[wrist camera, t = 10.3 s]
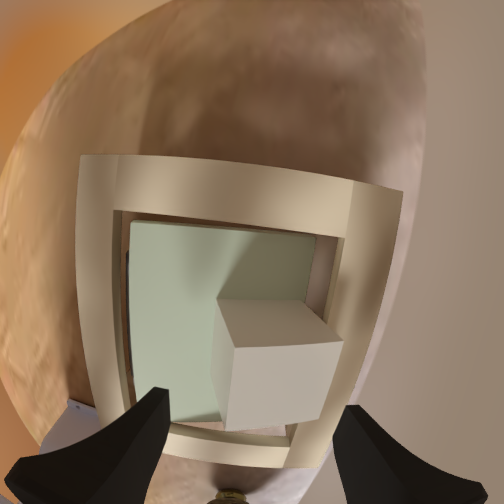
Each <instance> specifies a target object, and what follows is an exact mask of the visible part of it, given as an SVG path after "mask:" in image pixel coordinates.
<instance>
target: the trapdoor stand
mask: <svg viewBox="0 0 504 504" xmlns="http://www.w3.org/2000/svg"><path fill="white" fill-rule="evenodd" d="M402 198H403V191H399V190H395V189H390V188H386V187H382V186H377V185H373V184H368V183H363V182H359V181H354V180H349V179H344V178H339V177H333V176H328V175H322V174H317V173H311V172H305V171H299V170H292V169H286V168H279V167H272V166H264V165H256V164H248V163H240V162H231V161H221V160H210V159H199V158H186V157H171V156H151V155H118V154H81V157H80V166H79V175H78V186H77V200H76V223H75V261H76V284H77V298H78V309H79V318H80V327H81V335H82V342H83V348H84V354H85V360H86V366H87V371H88V376H89V381H90V386H91V390H92V395H93V399H94V403H95V407H96V411H97V415H98V418H99V422H100V425H101V429H103V428H105V427H106V426H108V425H109V424H110V423H112V422H113V421H115V420H116V419H117V418H119V417H120V416H121V415H123V414H124V413H125V412H126V411H127V410H129V409H130V408H131V407H132V406H133V405H135V404H136V403H137V399H136V391H135V385H134V382H133V376H131V371H130V369H129V371H128V372H127V374H126V367H125V358H124V347H123V334H122V317H121V285H120V261H121V228H122V211H133V212H143V213H153V214H162V215H172V216H181V217H190V218H198V219H207V220H215V221H224V222H232V223H240V224H248V225H255V226H263V227H271V228H278V229H286V230H293V231H300V232H307V233H314V234H321V235H328V236H335V237H338V243H337V248H336V254H335V259H334V264H333V270H332V275H331V280H330V285H329V289H328V294H327V299H326V303H325V308H324V312H323V317H322V321H323V322H324V323H326V324H327V325H328V326H329V327H330V328H331V329H332V330H333V331H334V332H335V333H336V334H337V335H338V336H339V337H340V338H341V339H343V340H344V343H343V347H342V350H341V353H340V357H339V360H338V363H337V366H336V370H335V373H334V376H333V379H332V382H331V385H330V388H329V391H328V394H327V397H326V400H325V402H324V405H323V408H322V411H321V413H320V416H319V419H316V420H311V421H306V422H300V423H294V424H288V425H285V429H286V436H267V435H254V434H243V433H234V432H226V431H218V430H211V429H205V428H199V427H193V426H187V425H182V424H177V423H172V422H171V424H170V428H169V433H168V436H167V440H166V444H165V446H164V449H163V451H162V453H165V454H170V455H174V456H179V457H184V458H190V459H195V460H201V461H207V462H214V463H222V464H230V465H239V466H251V467H266V468H318V467H319V465H320V463H321V461H322V459H323V457H324V455H325V453H326V451H327V449H328V447H329V445H330V442H331V440H332V436H333V434H334V432H335V429H336V427H337V425H338V423H339V420H340V418H341V415H342V413H343V411H344V408H345V406H346V405H347V404H348V402H349V399H350V397H351V394H352V391H353V389H354V386H355V384H356V381H357V378H358V376H359V373H360V370H361V367H362V364H363V362H364V359H365V356H366V353H367V350H368V347H369V344H370V340H371V337H372V334H373V331H374V327H375V324H376V321H377V317H378V314H379V310H380V306H381V303H382V299H383V295H384V291H385V287H386V283H387V279H388V275H389V270H390V266H391V261H392V256H393V251H394V246H395V241H396V236H397V230H398V224H399V218H400V212H401V205H402Z"/></svg>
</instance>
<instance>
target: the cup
mask: <svg viewBox="0 0 504 504" xmlns="http://www.w3.org/2000/svg"><path fill="white" fill-rule="evenodd" d="M215 498H216V499H214V500H212V501H210V502H208V503H207V504H249V503H248V502H246V496H245V495H244V493H243V492H241V491H239V490H235V489H224V490H221V491H219V492H218V493H217V494H216V496H215Z"/></svg>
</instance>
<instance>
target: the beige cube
mask: <svg viewBox="0 0 504 504" xmlns="http://www.w3.org/2000/svg"><path fill="white" fill-rule="evenodd" d="M343 343H344V340H343V339H341V338H340V337H339V336H338V335H337V334H336V333H335V332H334V331H333V330H332V329H331V328H330V327H329V326H328V325H327V324H326V323H324V322H323V321H322V320H321V319H320V318H319V317H318V316H317V315H316V314H315V313H314V312H313V311H312V310H311V309H310V308H309V307H307V306H306V305H305V304H304V303H303V302H302V301H301V300H243V299H216V304H215V315H214V327H213V340H212V353H211V366H210V375H211V379H212V383H213V387H214V391H215V395H216V399H217V403H218V407H219V411H220V414H221V418H222V422H223V425H224V429H225V431H237V430H248V429H258V428H266V427H274V426H281V425H288V424H294V423H300V422H306V421H311V420H316V419H319V416H320V413H321V411H322V408H323V405H324V402H325V400H326V397H327V394H328V391H329V388H330V385H331V382H332V379H333V376H334V373H335V370H336V366H337V363H338V360H339V357H340V353H341V350H342V347H343Z"/></svg>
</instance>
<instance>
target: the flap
mask: <svg viewBox="0 0 504 504" xmlns="http://www.w3.org/2000/svg"><path fill="white" fill-rule="evenodd" d="M315 243H316V238H315V237H313V236H311V235H308V234H300V233H290V232H280V231H269V230H258V229H247V228H236V227H225V226H213V225H201V224H188V223H175V222H161V221H147V220H133V221H132V222H131V227H130V249H129V250H128V251H127V253H126V314H127V334H128V349H129V360H130V371H131V376H133V382H134V385H135V391H136V399H137V402H138V401H139V400H140V399H141V398H142V397H143V396H144V395H146V394H147V393H148V392H149V391H150V390H151V389H152V388H153V387H160V388H164V389H169V398H170V417H171V422H218V421H222V418H221V414H220V411H219V407H218V403H217V399H216V395H215V391H214V387H213V383H212V379H211V375H210V366H211V353H212V340H213V327H214V315H215V304H216V299H243V300H301V301H302V302H303V303H305V298H306V293H307V288H308V283H309V277H310V272H311V266H312V261H313V255H314V249H315Z"/></svg>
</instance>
